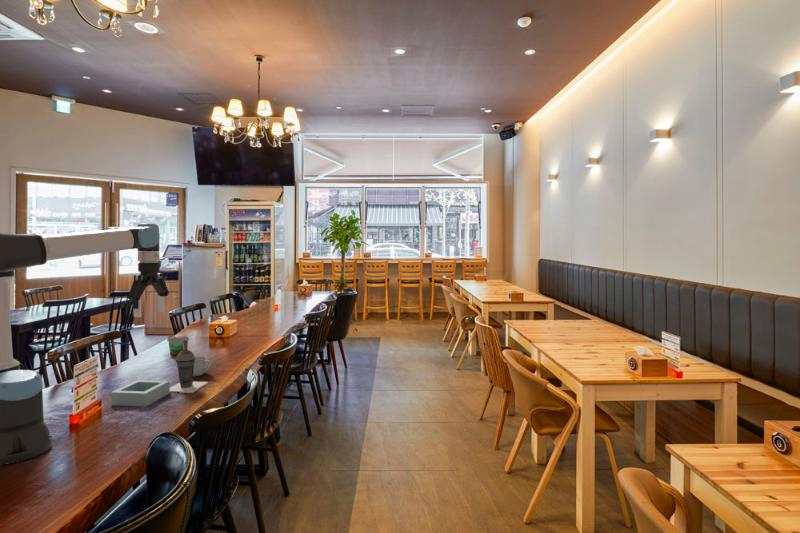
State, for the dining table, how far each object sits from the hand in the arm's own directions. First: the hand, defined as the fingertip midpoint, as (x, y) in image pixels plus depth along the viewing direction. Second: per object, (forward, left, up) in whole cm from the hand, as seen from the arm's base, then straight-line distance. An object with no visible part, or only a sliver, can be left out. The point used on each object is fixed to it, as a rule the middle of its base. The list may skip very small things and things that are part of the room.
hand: (149, 314), depth 171 cm
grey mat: (+7, -10, -33) cm, 35 cm away
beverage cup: (+7, -10, -32) cm, 34 cm away
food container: (+55, +27, -33) cm, 70 cm away
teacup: (+23, -5, -33) cm, 41 cm away
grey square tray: (-7, 0, -33) cm, 33 cm away
